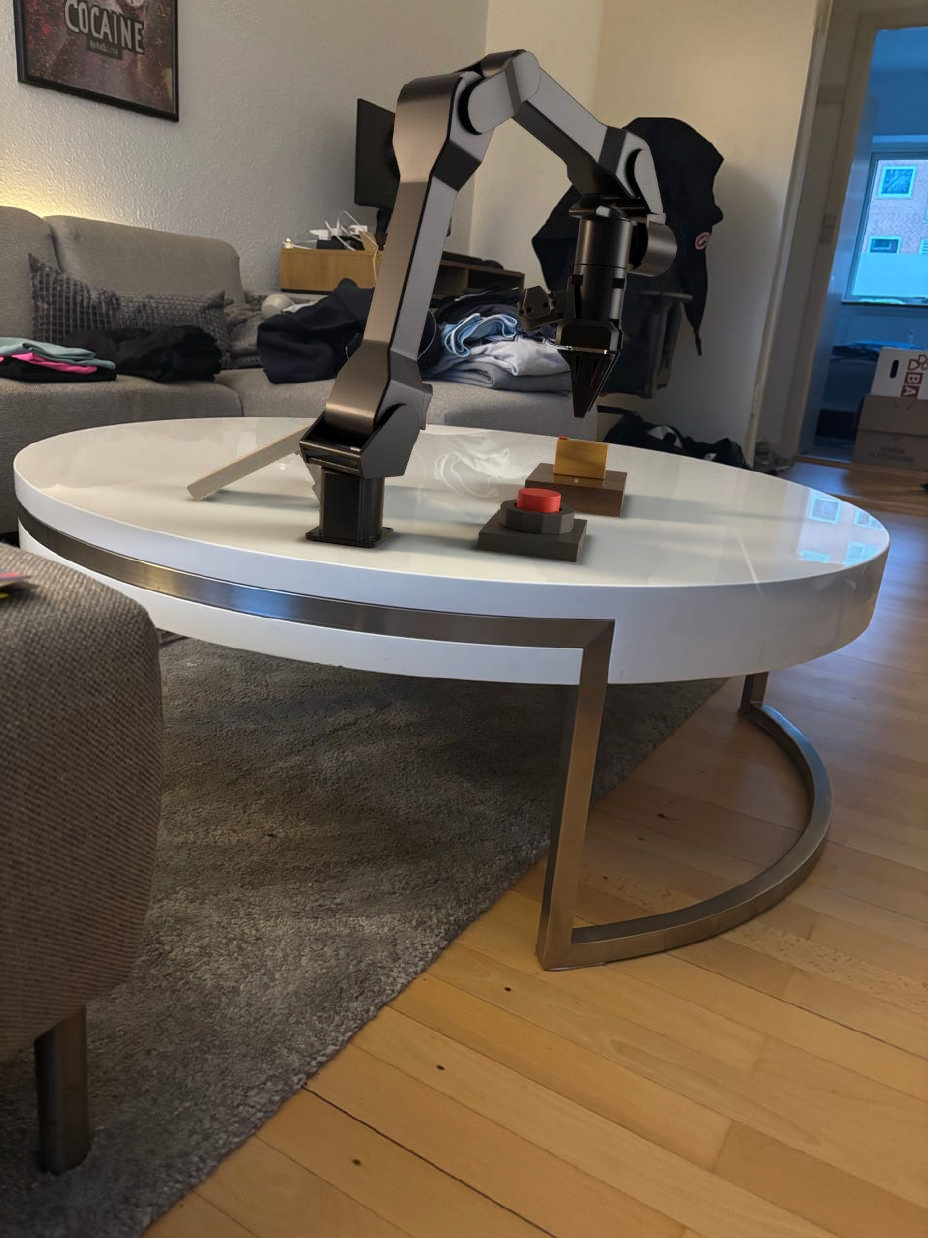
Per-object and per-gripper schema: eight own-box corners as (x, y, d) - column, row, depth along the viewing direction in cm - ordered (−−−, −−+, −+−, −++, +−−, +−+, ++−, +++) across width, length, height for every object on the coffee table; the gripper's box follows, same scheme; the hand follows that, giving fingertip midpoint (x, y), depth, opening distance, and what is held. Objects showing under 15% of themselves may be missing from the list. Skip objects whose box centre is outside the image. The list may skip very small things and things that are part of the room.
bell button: (556, 517, 84) (558, 498, 83) (513, 512, 85) (515, 493, 84) (560, 509, 88) (562, 491, 87) (519, 504, 88) (521, 486, 88)
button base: (576, 562, 81) (581, 524, 80) (477, 549, 83) (480, 511, 82) (585, 536, 92) (589, 501, 90) (497, 525, 93) (500, 491, 92)
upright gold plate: (604, 477, 108) (609, 441, 107) (604, 479, 107) (608, 442, 106) (554, 471, 109) (558, 435, 108) (553, 473, 108) (557, 437, 107)
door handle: (225, 557, 94) (397, 475, 90) (185, 486, 92) (360, 400, 88) (269, 517, 111) (416, 447, 107) (236, 456, 108) (385, 382, 105)
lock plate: (620, 517, 102) (623, 489, 101) (522, 505, 104) (525, 478, 103) (624, 496, 115) (627, 470, 114) (537, 485, 117) (540, 461, 116)
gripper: (537, 267, 109) (523, 401, 114) (514, 254, 91) (499, 412, 96) (631, 275, 107) (613, 411, 112) (626, 263, 90) (605, 424, 94)
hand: (582, 414), depth 104 cm, fingers open, 9 cm apart
